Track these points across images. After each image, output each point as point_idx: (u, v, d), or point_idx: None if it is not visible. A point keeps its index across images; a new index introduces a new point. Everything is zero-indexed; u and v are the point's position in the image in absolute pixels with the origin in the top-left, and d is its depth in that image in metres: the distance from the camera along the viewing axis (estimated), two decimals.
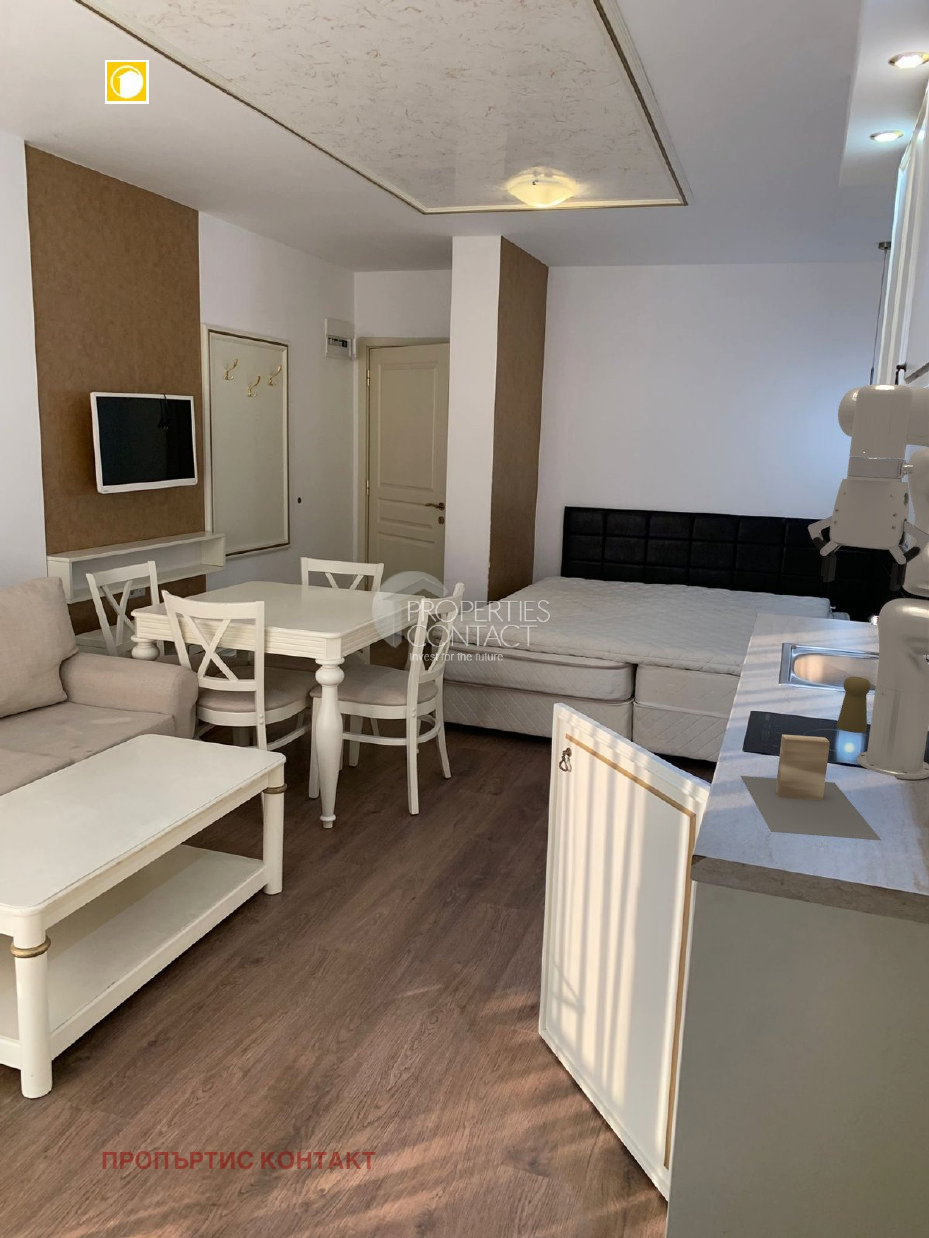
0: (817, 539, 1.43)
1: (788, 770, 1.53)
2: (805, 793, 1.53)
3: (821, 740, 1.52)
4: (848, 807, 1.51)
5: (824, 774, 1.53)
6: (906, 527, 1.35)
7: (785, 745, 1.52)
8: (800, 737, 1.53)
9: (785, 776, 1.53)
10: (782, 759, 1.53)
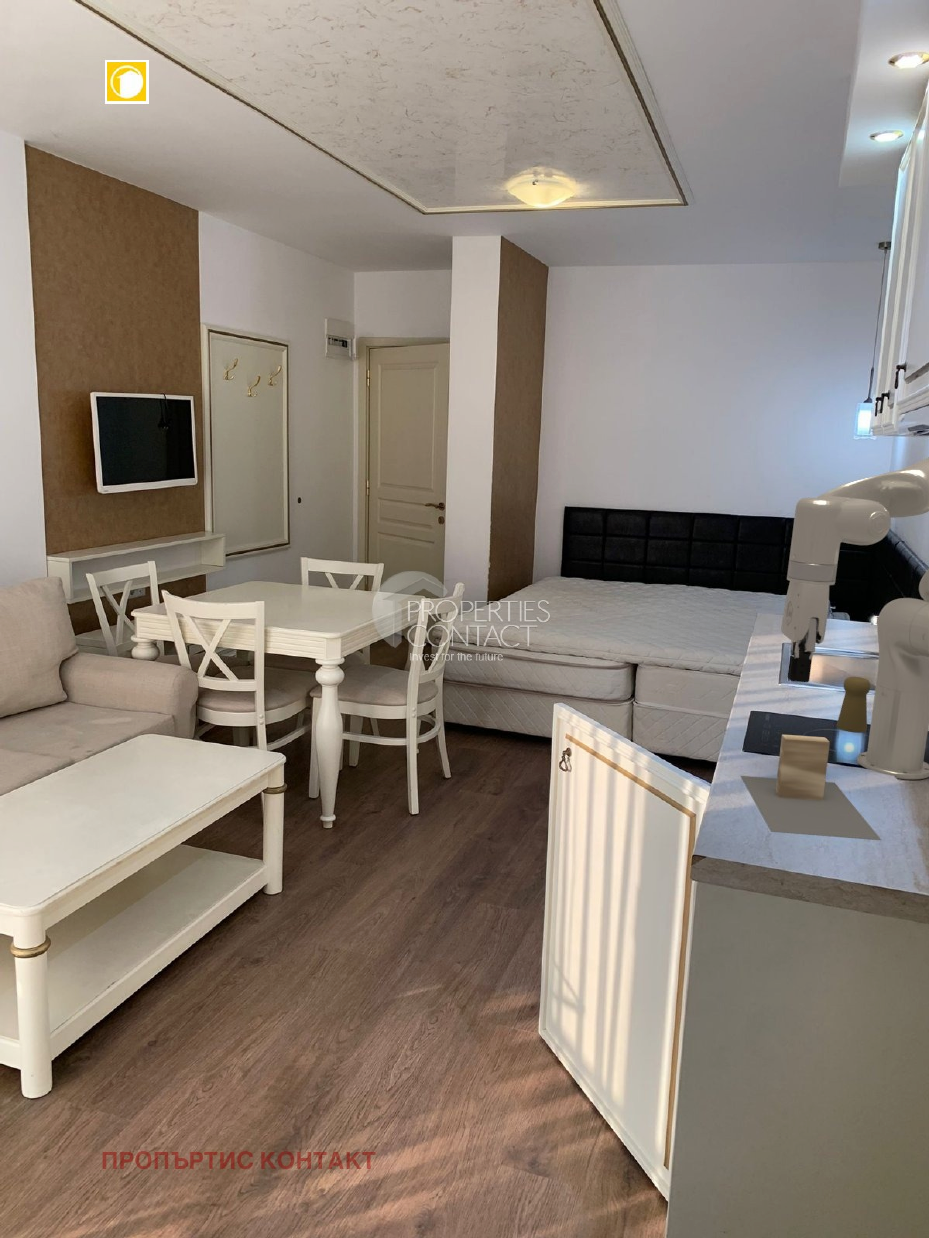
0: None
1: (788, 770, 1.53)
2: (805, 793, 1.53)
3: (821, 740, 1.52)
4: (848, 807, 1.51)
5: (824, 774, 1.53)
6: None
7: (785, 745, 1.52)
8: (800, 737, 1.53)
9: (785, 776, 1.53)
10: (782, 759, 1.53)
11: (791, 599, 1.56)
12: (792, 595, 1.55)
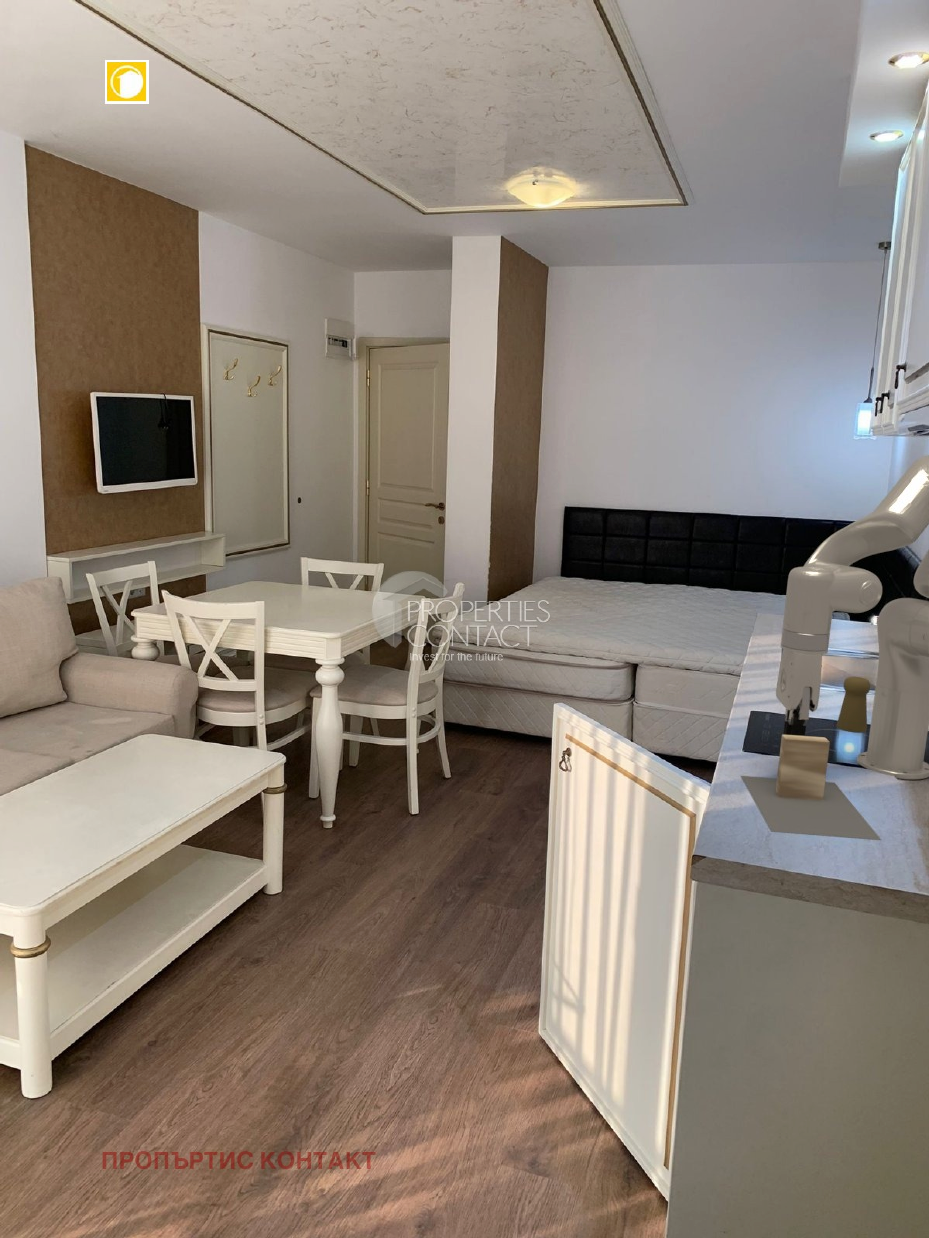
0: None
1: (788, 770, 1.53)
2: (805, 793, 1.53)
3: (821, 740, 1.52)
4: (848, 807, 1.51)
5: (824, 774, 1.53)
6: None
7: (785, 745, 1.52)
8: (800, 737, 1.53)
9: (785, 776, 1.53)
10: (782, 759, 1.53)
11: (785, 667, 1.58)
12: (786, 663, 1.57)
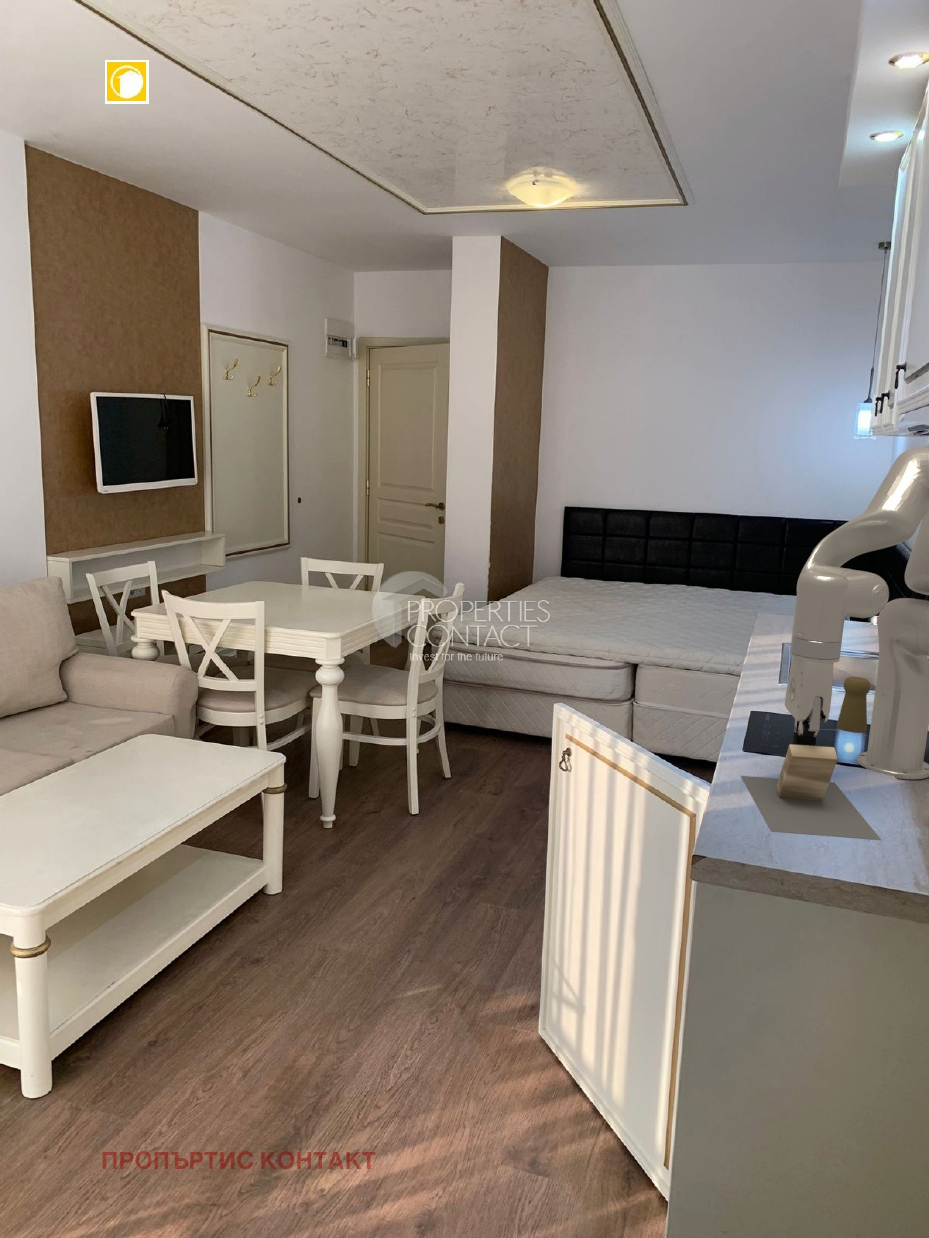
0: None
1: (791, 778, 1.51)
2: (806, 794, 1.53)
3: (829, 755, 1.48)
4: (848, 807, 1.51)
5: (827, 782, 1.51)
6: None
7: (791, 760, 1.48)
8: (808, 750, 1.49)
9: (788, 782, 1.52)
10: (786, 769, 1.50)
11: (794, 675, 1.51)
12: (795, 671, 1.51)
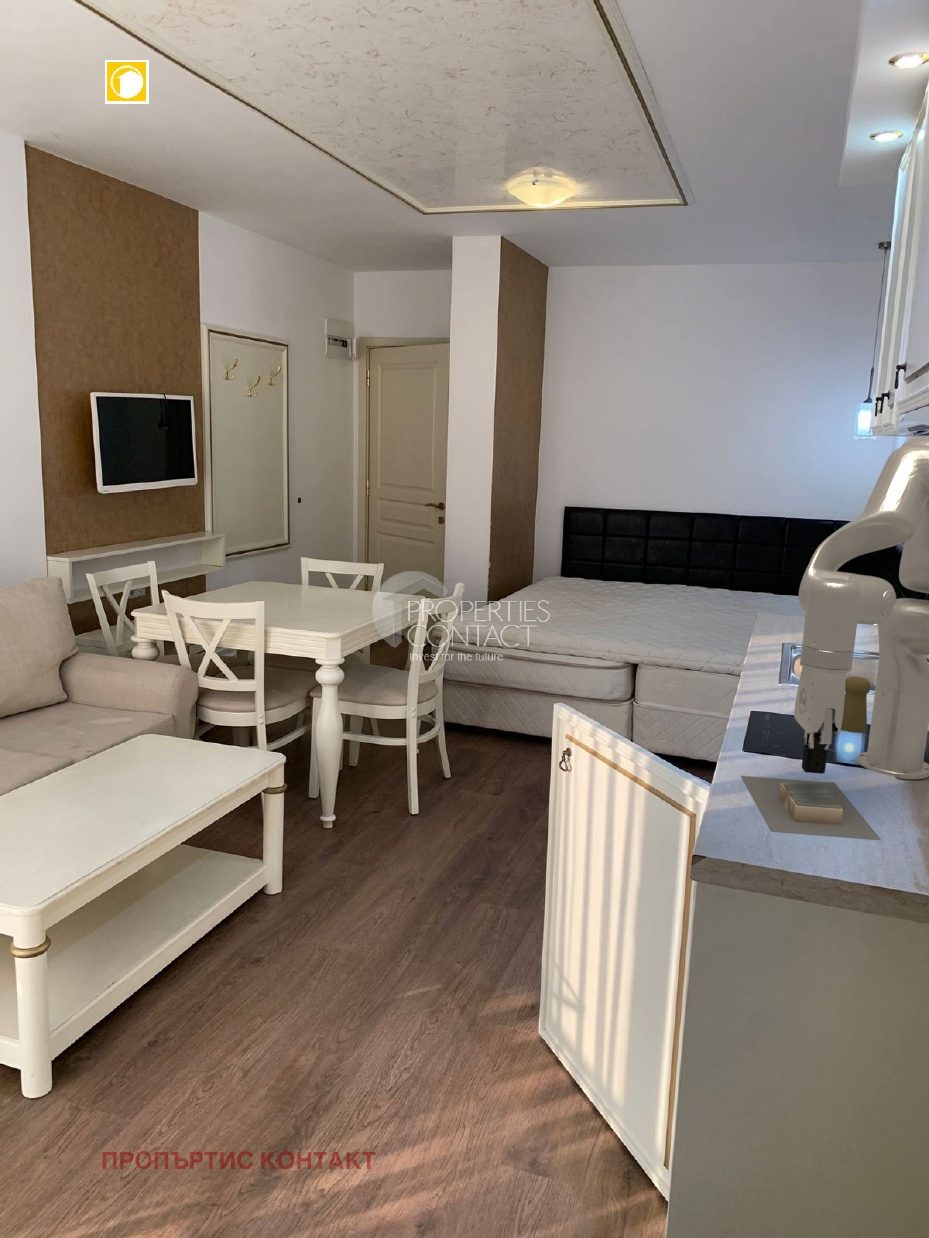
0: None
1: None
2: None
3: (833, 820, 1.43)
4: (848, 807, 1.51)
5: None
6: None
7: (793, 818, 1.45)
8: (813, 813, 1.44)
9: None
10: (788, 809, 1.48)
11: (805, 686, 1.45)
12: (806, 682, 1.45)
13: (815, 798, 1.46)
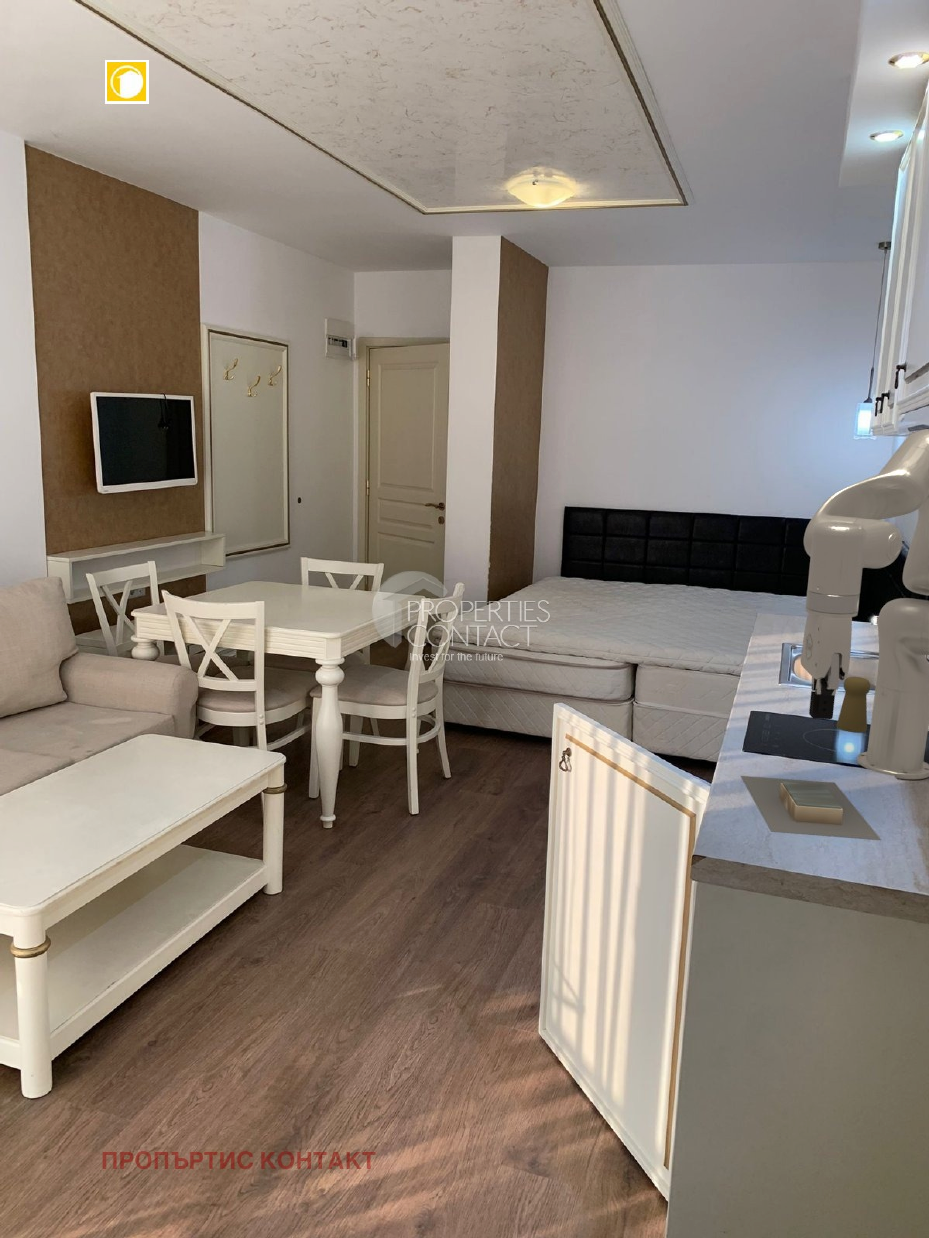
0: None
1: None
2: None
3: (833, 820, 1.43)
4: (848, 807, 1.51)
5: None
6: None
7: (793, 818, 1.45)
8: (813, 813, 1.44)
9: None
10: (788, 809, 1.48)
11: (811, 632, 1.44)
12: (812, 628, 1.44)
13: (815, 798, 1.46)
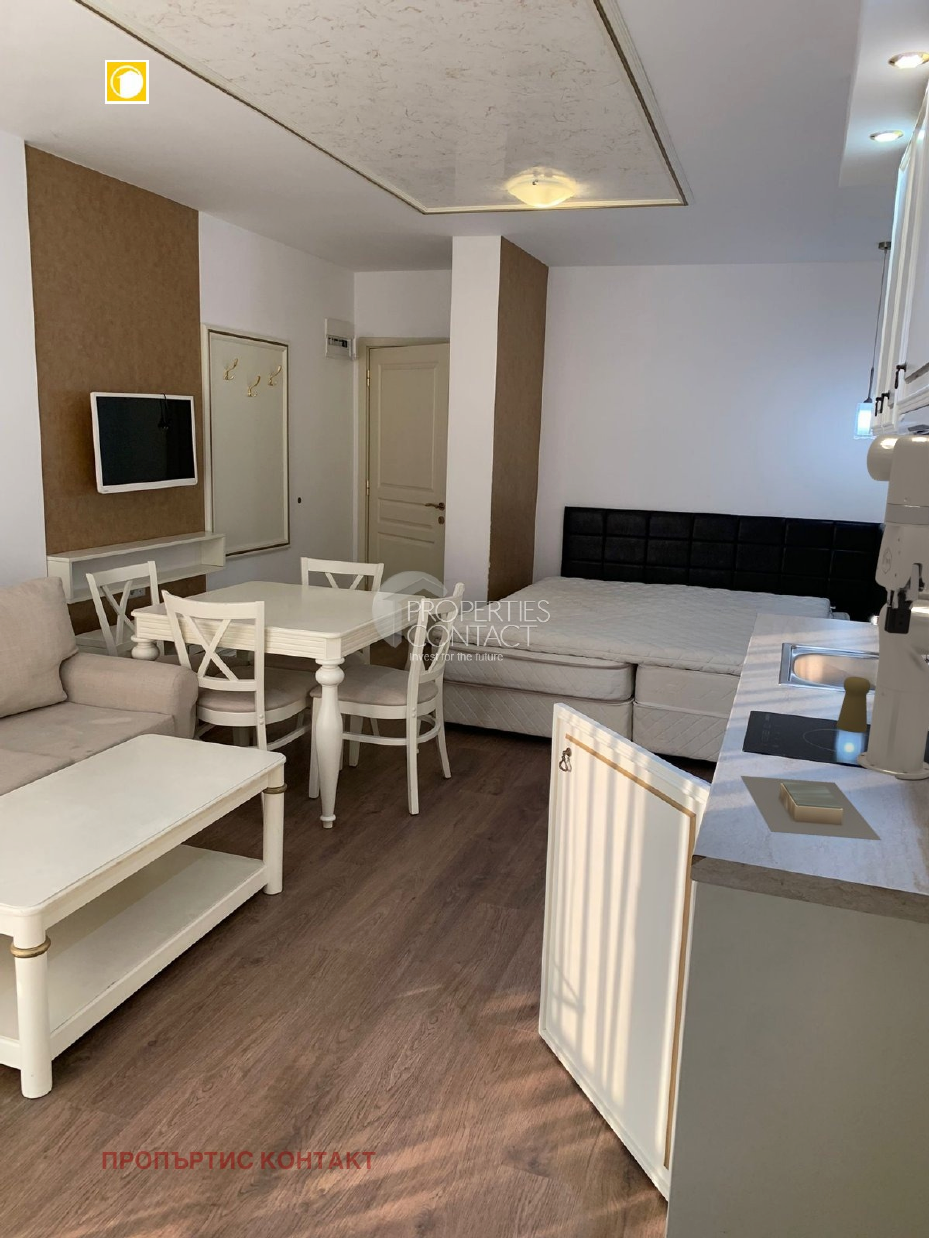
0: None
1: None
2: None
3: (833, 820, 1.43)
4: (848, 807, 1.51)
5: None
6: None
7: (793, 818, 1.45)
8: (813, 813, 1.44)
9: None
10: (788, 809, 1.48)
11: (889, 545, 1.46)
12: (890, 541, 1.45)
13: (815, 798, 1.46)
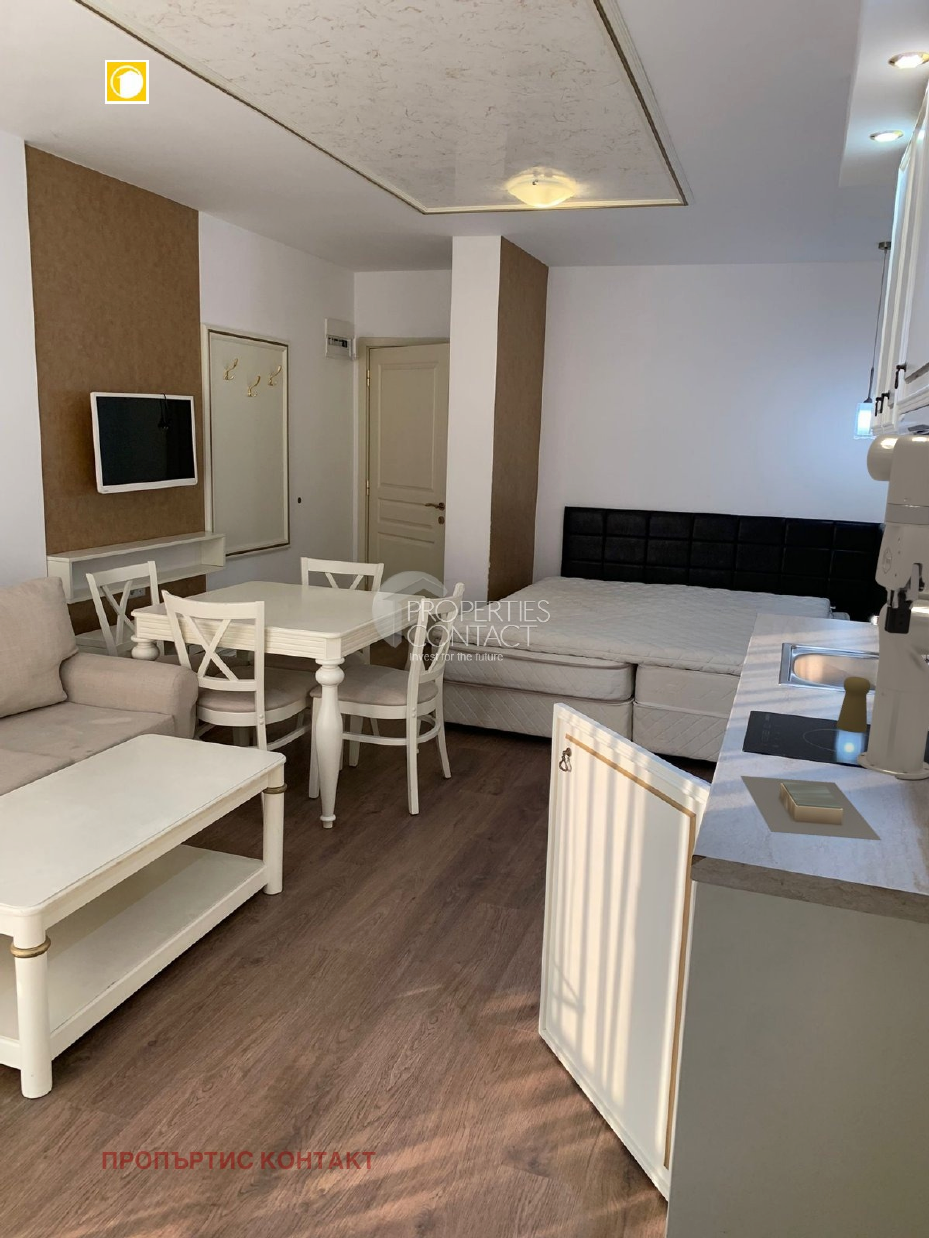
0: None
1: None
2: None
3: (833, 820, 1.43)
4: (848, 807, 1.51)
5: None
6: None
7: (793, 818, 1.45)
8: (813, 813, 1.44)
9: None
10: (788, 809, 1.48)
11: (889, 545, 1.46)
12: (890, 541, 1.45)
13: (815, 798, 1.46)
